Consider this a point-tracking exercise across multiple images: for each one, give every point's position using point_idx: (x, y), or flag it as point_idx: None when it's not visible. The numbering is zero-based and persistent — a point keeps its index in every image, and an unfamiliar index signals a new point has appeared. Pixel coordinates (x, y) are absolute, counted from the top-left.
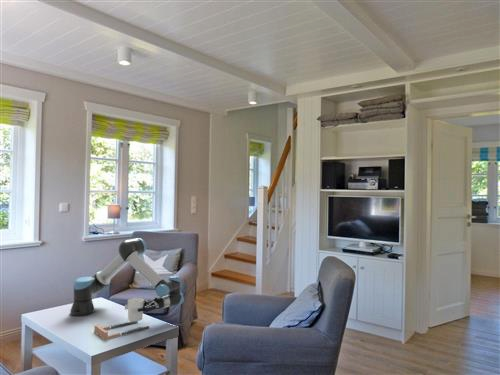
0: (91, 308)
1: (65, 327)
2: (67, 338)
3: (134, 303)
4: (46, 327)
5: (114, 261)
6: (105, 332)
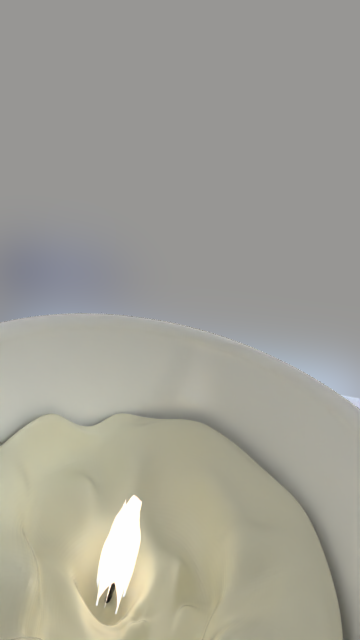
0: None
1: None
2: None
3: (50, 335)
4: (345, 396)
5: None
6: None
